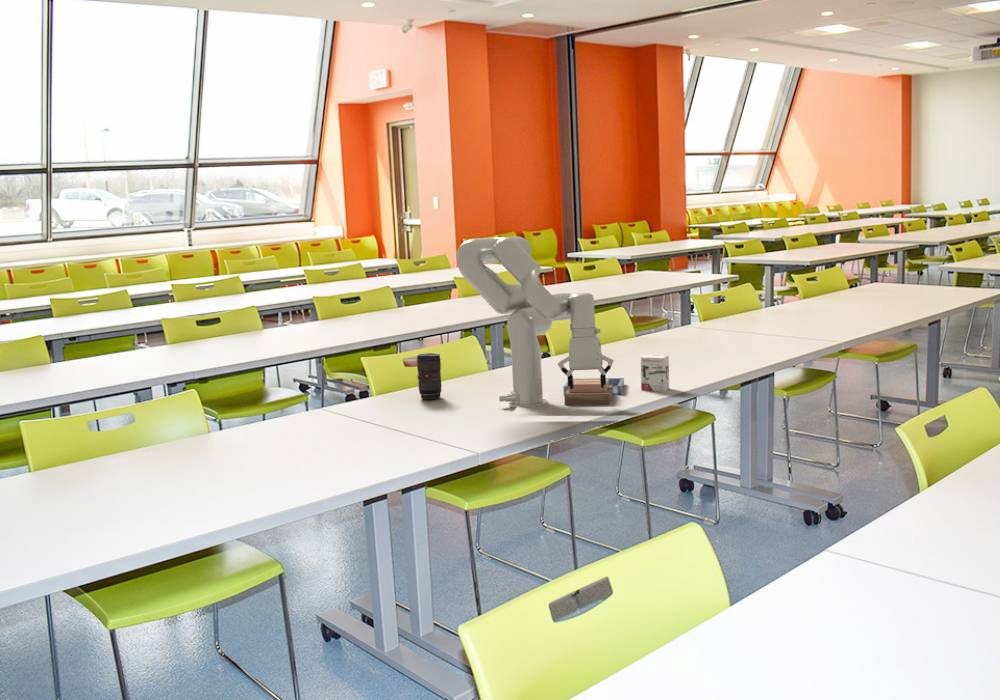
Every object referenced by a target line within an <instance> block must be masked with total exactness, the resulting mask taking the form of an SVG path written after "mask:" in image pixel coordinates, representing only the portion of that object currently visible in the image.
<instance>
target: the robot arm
mask: <svg viewBox="0 0 1000 700" xmlns="http://www.w3.org/2000/svg"><path fill="white" fill-rule="evenodd" d="M531 255H532V247H531V244H530V242H529V241H528V240H527V239H526V238H525V237H522V236H505V237H504V236H503V237H482V238H470V239H468V240H465V241H463V242H462V243H461V244H460V245H459V246H458V249H457V252H456V263H457V268H458V270H459V272H460V274H461V275H462V277H463V278H464V279H465V281H467V282H468V284H469V285H471V287H473V288H474V289H475V291H476V292H477V293H478V294H479V295H480V296H481V297H482V299H484V301H485V302H486V303H487V304H488V305H489V306H490V307H491V308H492V309H493V310H494V312H496V313H497V314H499V315H508V314H510V315H509V317H508V319H507V323H506V326H507V327H506V328H507V333H508V338H509V343H510V354H511V356H510V357H511V367H512V368H511V371H512V373H511V374H512V391H510V393H508V395H504V394H503V395H499V397H498V401H499V403H500V402H505V403H507V402H508V406H509V407H510V408H514V409H517V408H518V407H536V406H542V405H546V404H548V400H547V399H545V398H544V396H543V378H542V377H543V376H542V375H543V374H542V353H541V345H540V341H539V340H538V337H537V336H541V335H543V334H545V333H547V332H548V331H550V329H551V328H552V325H553V320H556V319H560V318H561V319H562V318H565V317H569V318H570V328H571V330H570V331H571V337H569V344H568V356H567V357H565V358H563V359H562V360H560V361H559V362H558V363H557V366H558V367H559V368H560V371H561V372H562V373H563V374H564V375H565V376H566V377H567V381H568V386H570V389H573V387H574V385H573V379H574V375H573V374H572V373H573V372H574V371H592V370H598V371H599V372H600V375H599V376H600V377H599V378H600V379H601V387H602V388H604V385H606V378H607V377H606V374H607V373H609V371H610V370H611V368H612V366H613V363H614V361H615V360H614V359H612V358H611V357H608V356H606V355H604V354H602V353H603V351H602V345H601V340H600V337H599V336H597V335H598V334H601V333H602V331H601V328H597V326H596V314H595V298H594V295H593V294H592V293H588V292H584V293H583V292H581V293H569V292H562V293H555V294H552V293H551V292H550V291H549V290H547V288H546V287H545V286H544V285H543V284H542V283H541V281H540V277H539V275H540V274H541V272H542V268H541V265H540V264H539V263H538V262H537V261H536V260H535V259H534V258H533V256H531ZM497 263H498V264H500V265H502V267H504V268H505V270H506V271H507V272H509V274H510V275H511V276H512V277H513V278H515V280H516V281H517V282H518V283H510V284H509V283H506V282H505V281H504V280H503V279H502V278H500V276H499V275H498V274H497V272H496V271H494V270H493V269H491V268H489V266H486V264H497ZM603 361H605V362H607V366H606V367H605V368H604V367H603ZM567 363H568V366H569V370H568V369H567V368H566V367H565V365H564V364H567Z"/></svg>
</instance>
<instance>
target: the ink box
mask: <svg viewBox="0 0 1000 700" xmlns="http://www.w3.org/2000/svg"><path fill="white" fill-rule="evenodd" d="M640 381H641V382H640V386H641V388H640V389H641V390H640V391H646V392H647V391H648V392H664V393H665V392H667V391H668V390H669V389H670V357H669V355H666V354H664V355H663V354H644V355H642V356H641V357H640Z"/></svg>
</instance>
